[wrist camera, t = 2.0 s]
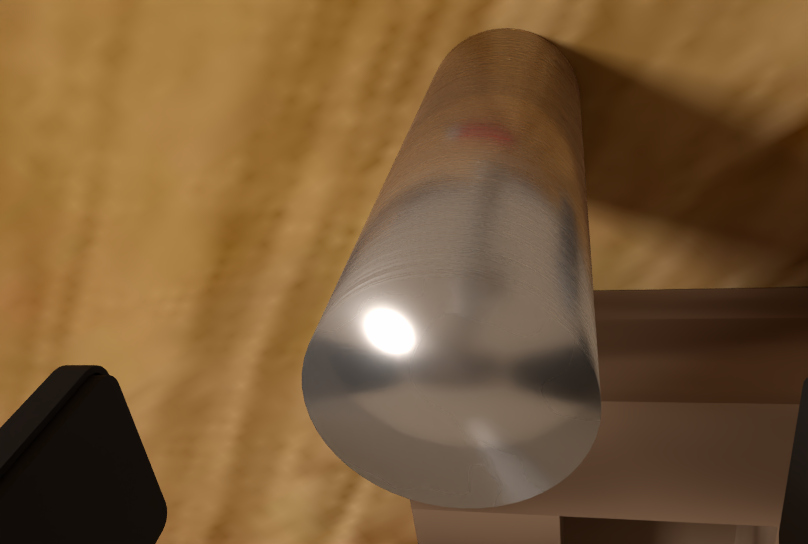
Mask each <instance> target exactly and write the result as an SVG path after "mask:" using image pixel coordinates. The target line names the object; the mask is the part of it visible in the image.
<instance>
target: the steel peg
mask: <svg viewBox="0 0 808 544" xmlns="http://www.w3.org/2000/svg"><path fill="white" fill-rule="evenodd" d="M302 390H303V395H304V401H305V404H306V407H307V410H308V413H309V416H310V418H311V420H312V422H313V424H314V426H315V428H316V430H317V431H318V433H319V434H320V436H321V437H322V439H323V440H324V442H325V443H326V444H327V445H328V447H329V448H330V449H331V450H332V451H333V452H334V453H335V454H336V456H338V457H339V458H340V459H341V460H342V461H343V462H344V463H345V464H346V465H347V466H349V467H350V468H351V469H353V470H354V471H355V472H357V473H358V474H359V475H361V476H362V477H364V478H365V479H367V480H369V481H370V482H372V483H374V484H375V485H377V486H379V487H381V488H384V489H386V490H388V491H390V492H392V493H394V494H397V495H400V496H403V497H405V498H408V499H411V500H415V501H419V502H422V503H426V504H431V505H437V506H442V507H452V508H487V507H497V506H502V505H507V504H513V503H516V502H519V501H522V500H526V499H529V498H531V497H534V496H536V495H538V494H541V493H543V492H545V491H547V490H548V489H550V488H552V487H553V486H555V485H557V484H558V483H560V482H561V481H562V480H564V479H565V478H566V477H567V476H569V475H570V474H571V473H572V472H573V471H574V470H575V469H576V468H577V467H578V466H579V465H580V464H581V462H582V461H583V459H584V458H585V457H586V455H587V454H588V452H589V451H590V449H591V447H592V445H593V443H594V440H595V438H596V436H597V432H598V428H599V425H600V418H601V394H600V379H599V365H598V350H597V336H596V322H595V307H594V293H593V278H592V264H591V250H590V235H589V221H588V206H587V192H586V178H585V163H584V149H583V134H582V120H581V106H580V92H579V86H578V82H577V78H576V76H575V73H574V70H573V69H572V67H571V65H570V63H569V62H568V60H567V59H566V58H565V56H564V55H563V54H562V53H561V52H560V51H559V50H558V49H557V48H556V47H555V46H554V45H553V44H551V43H550V42H549V41H547V40H546V39H544V38H542V37H540V36H538V35H536V34H533V33H531V32H528V31H523V30H519V29H510V28H502V29H493V30H487V31H484V32H481V33H478V34H475V35H473V36H471V37H469V38H467V39H466V40H464V41H462V42H461V43H460V44H458V45H457V46H456V47H455V48H453V49H452V50H451V52H450V53H449V54H448V55H447V56H446V57H445V58H444V60H443V61H442V63H441V64H440V66H439V68H438V70H437V72H436V74H435V76H434V78H433V80H432V82H431V84H430V86H429V89H428V91H427V93H426V95H425V97H424V99H423V101H422V104H421V106H420V108H419V110H418V112H417V114H416V116H415V119H414V121H413V123H412V125H411V127H410V129H409V131H408V134H407V136H406V138H405V140H404V142H403V144H402V146H401V149H400V151H399V153H398V155H397V157H396V159H395V161H394V164H393V166H392V168H391V170H390V172H389V174H388V176H387V178H386V181H385V183H384V185H383V187H382V189H381V191H380V193H379V196H378V198H377V200H376V202H375V204H374V206H373V208H372V211H371V213H370V215H369V217H368V219H367V221H366V223H365V226H364V228H363V230H362V232H361V234H360V236H359V238H358V241H357V243H356V245H355V247H354V249H353V251H352V253H351V256H350V258H349V260H348V262H347V264H346V266H345V268H344V271H343V273H342V275H341V277H340V279H339V281H338V283H337V285H336V288H335V290H334V292H333V294H332V296H331V298H330V300H329V303H328V305H327V307H326V309H325V311H324V313H323V315H322V318H321V320H320V322H319V324H318V326H317V328H316V330H315V333H314V335H313V337H312V339H311V341H310V343H309V346H308V349H307V352H306V355H305V358H304V363H303V369H302Z"/></svg>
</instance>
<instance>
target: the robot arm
mask: <svg viewBox="0 0 808 544" xmlns="http://www.w3.org/2000/svg"><path fill="white" fill-rule="evenodd" d="M166 518H167V506H166V502H165V500H164V497H163V495H162V492H161V490H160V487H159V485H158V482H157V480H156V477H155V475H154V472H153V469H152V467H151V464H150V462H149V459H148V457H147V454H146V452H145V449H144V447H143V444H142V441H141V439H140V436H139V434H138V431H137V429H136V426H135V424H134V421H133V419H132V416H131V414H130V411H129V408H128V406H127V403H126V401H125V398H124V396H123V393H122V391H121V388H120V386H119V383H118V381H117V380H116V378H114V377H113V376H110V375H109V374H108V372H107V370H105V369H104V368H103V367H101V366H97V365H65V366H61V367H59V368H57V369H56V370H55V371H53V373H52V374H51V375H50V376H49V377H48V378H47V379H46V380H45V381H44V382H43V383H42V384H41V385H40V386H39V387H38V388H37V390H36V391H35V392H34V393H33V394H32V395H31V396H30V397H29V398H28V399H27V400H26V401H25V402H24V403H23V404H22V405H21V407H20V408H19V409H18V410H17V411H16V412H15V413H14V414H13V415H12V416H11V417H10V418H9V419H8V420H7V421H6V422H5V424H4V425H3V426H2V427H1V428H0V544H155V543H156V541H157V540H158V538H159V536H160V534H161V533H162V531H163V528H164V526H165V523H166ZM779 544H808V378H806V379H805V381H804V383H803V387H802V393H801V399H800V405H799V411H798V418H797V424H796V430H795V436H794V442H793V448H792V454H791V460H790V466H789V473H788V479H787V485H786V491H785V497H784V503H783V509H782V515H781V521H780V527H779Z"/></svg>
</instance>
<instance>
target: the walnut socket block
mask: <svg viewBox="0 0 808 544" xmlns="http://www.w3.org/2000/svg"><path fill="white" fill-rule="evenodd" d="M593 293H594V307H595V322H596V336H597V350H598V365H599V379H600V394H601V418H600V425H599V428H598V432H597V436H596V438H595V440H594V443H593V445H592V447H591V449H590V451H589V452H588V454H587V455H586V457H585V458H584V459H583V461H582V462H581V464H580V465H579V466H578V467H577V468H576V469H575V470H574V471H573V472H572V473H571V474H570V475H569V476H567V477H566V478H565V479H564V480H562V481H561V482H560V483H558V484H557V485H555V486H553V487H552V488H550V489H548V490H547V491H545V492H543V493H541V494H538V495H536V496H534V497H531V498H529V499H526V500H522V501H519V502H516V503H513V504H507V505H502V506H497V507H487V508H452V507H442V506H437V505H431V504H426V503H422V502H419V501H415V500H411V499H410V502H411V508H412V513H413V518H414V524H415V529H416V535H417V540H418V544H779V527H780V521H781V515H782V509H783V503H784V497H785V491H786V485H787V479H788V473H789V466H790V460H791V454H792V448H793V442H794V436H795V430H796V424H797V418H798V411H799V405H800V399H801V393H802V387H803V383H804V381H805V379H806V378H808V287H802V288H741V289H680V290H619V291H593Z"/></svg>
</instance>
